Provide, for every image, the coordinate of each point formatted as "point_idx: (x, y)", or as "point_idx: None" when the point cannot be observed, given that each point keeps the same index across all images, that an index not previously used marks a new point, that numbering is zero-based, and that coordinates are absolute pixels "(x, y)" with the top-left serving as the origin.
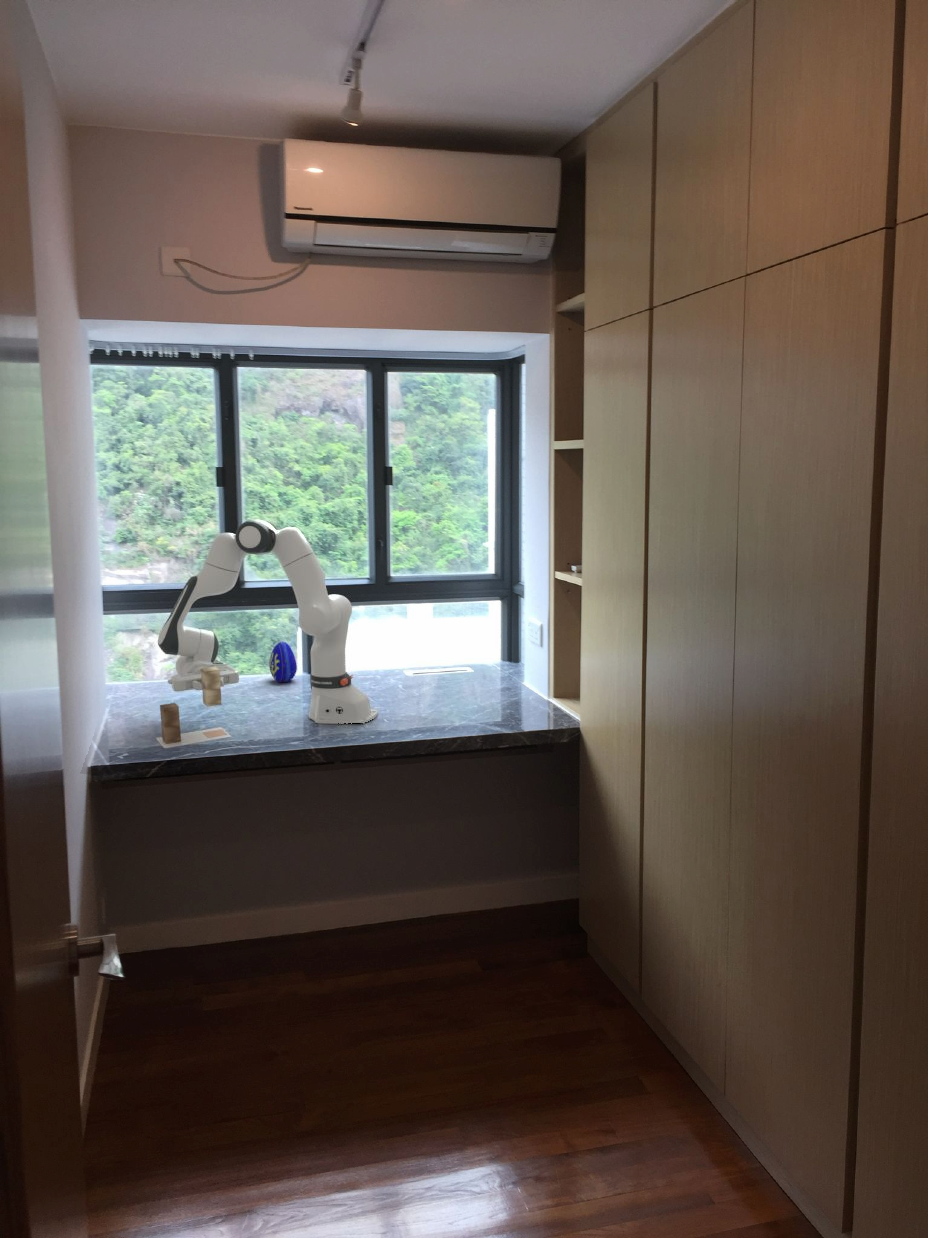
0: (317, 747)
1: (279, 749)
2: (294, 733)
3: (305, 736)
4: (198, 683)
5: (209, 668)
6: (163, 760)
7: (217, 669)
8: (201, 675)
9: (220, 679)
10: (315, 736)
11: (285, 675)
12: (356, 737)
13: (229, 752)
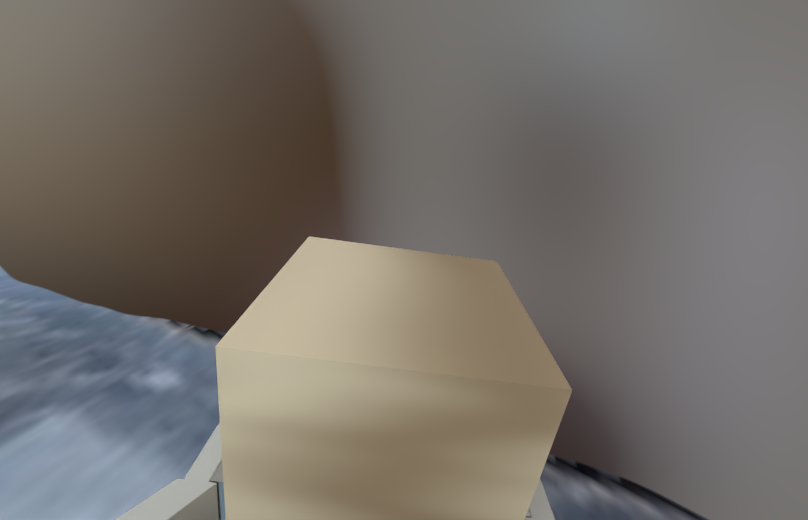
0: (167, 326)
1: None
2: (32, 460)
3: (65, 405)
4: (550, 511)
5: (401, 310)
6: (615, 489)
7: (328, 244)
8: (526, 511)
9: (192, 495)
10: (50, 386)
11: None
12: (14, 320)
13: None
